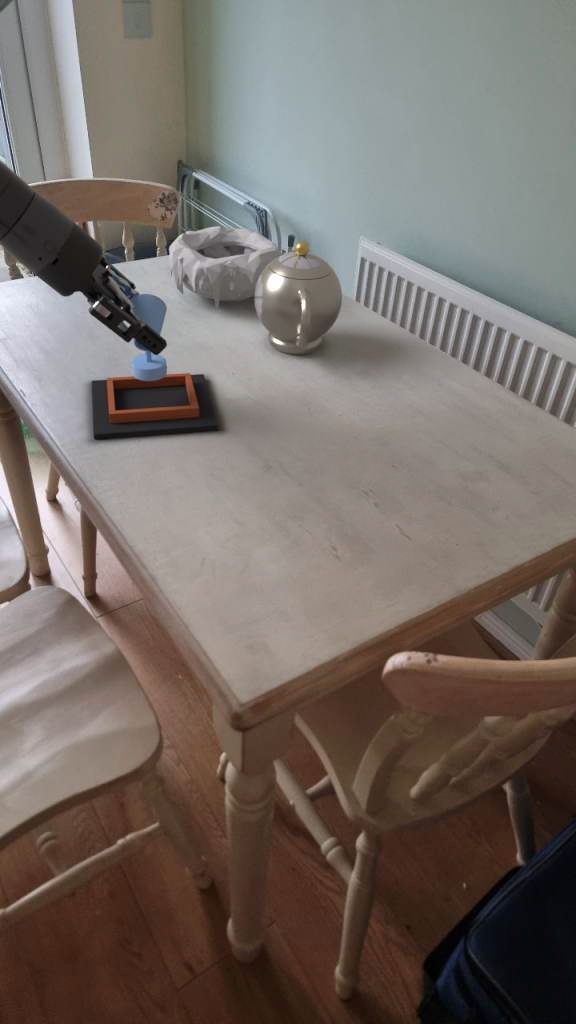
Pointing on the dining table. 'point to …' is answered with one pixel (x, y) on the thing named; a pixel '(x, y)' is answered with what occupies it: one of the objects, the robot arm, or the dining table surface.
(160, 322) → the spotlight
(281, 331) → the teapot
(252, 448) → the dining table surface
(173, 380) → the pad
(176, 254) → the bowl
